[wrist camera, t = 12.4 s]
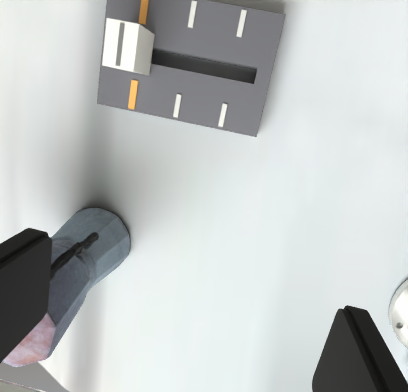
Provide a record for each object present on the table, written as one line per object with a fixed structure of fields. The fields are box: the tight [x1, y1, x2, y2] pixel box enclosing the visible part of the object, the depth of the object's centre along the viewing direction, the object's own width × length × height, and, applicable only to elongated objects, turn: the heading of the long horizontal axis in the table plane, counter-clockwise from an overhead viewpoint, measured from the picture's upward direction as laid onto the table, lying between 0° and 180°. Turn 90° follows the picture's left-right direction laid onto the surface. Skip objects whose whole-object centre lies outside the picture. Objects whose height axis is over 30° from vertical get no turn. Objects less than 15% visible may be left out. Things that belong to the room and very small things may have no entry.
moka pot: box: [3, 208, 130, 367], centre depth 35 cm, size 10×15×20 cm, turn 141°
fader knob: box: [102, 18, 155, 75], centre depth 34 cm, size 4×3×7 cm
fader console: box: [97, 0, 286, 137], centre depth 36 cm, size 12×18×3 cm, turn 79°
